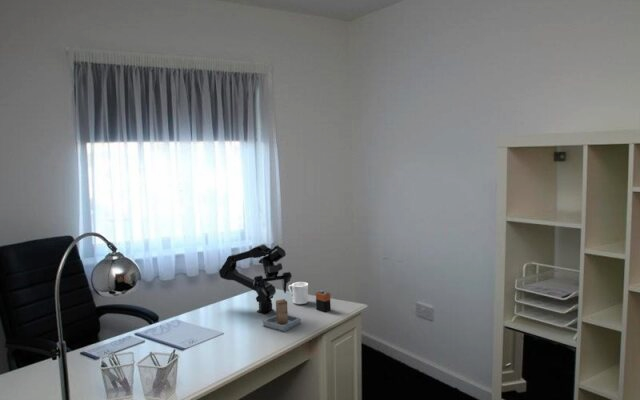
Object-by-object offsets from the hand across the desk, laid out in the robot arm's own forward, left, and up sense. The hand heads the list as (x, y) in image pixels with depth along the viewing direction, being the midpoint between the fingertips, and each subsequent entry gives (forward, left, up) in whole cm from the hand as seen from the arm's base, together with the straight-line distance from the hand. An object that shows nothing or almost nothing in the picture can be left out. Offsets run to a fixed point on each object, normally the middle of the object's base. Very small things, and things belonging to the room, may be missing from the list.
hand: (276, 294), depth 228 cm
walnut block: (+5, -3, -13) cm, 14 cm away
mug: (-8, +26, -14) cm, 31 cm away
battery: (+10, +24, -14) cm, 30 cm away
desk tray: (+5, -3, -13) cm, 15 cm away
